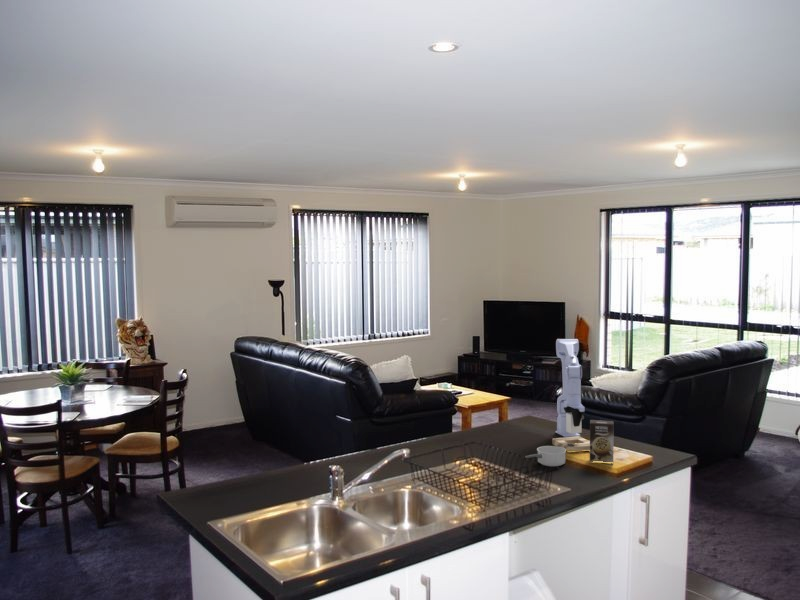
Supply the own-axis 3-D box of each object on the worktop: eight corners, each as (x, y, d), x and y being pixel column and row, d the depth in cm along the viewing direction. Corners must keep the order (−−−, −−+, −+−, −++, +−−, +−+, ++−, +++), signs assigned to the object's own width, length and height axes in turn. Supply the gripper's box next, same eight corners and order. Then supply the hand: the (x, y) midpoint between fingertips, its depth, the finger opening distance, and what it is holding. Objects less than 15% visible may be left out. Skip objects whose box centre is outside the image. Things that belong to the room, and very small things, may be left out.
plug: (566, 431, 289) (566, 412, 289) (581, 430, 291) (580, 411, 291) (570, 433, 285) (570, 414, 285) (585, 432, 287) (585, 413, 287)
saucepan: (515, 467, 263) (515, 452, 263) (550, 457, 275) (550, 444, 274) (537, 474, 254) (537, 459, 253) (572, 464, 265) (572, 450, 265)
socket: (552, 444, 294) (552, 437, 294) (579, 441, 297) (579, 434, 297) (569, 453, 280) (568, 446, 279) (597, 450, 283) (597, 443, 282)
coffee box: (589, 463, 265) (589, 422, 264) (589, 458, 271) (589, 419, 271) (613, 464, 263) (613, 424, 262) (613, 460, 269) (613, 420, 268)
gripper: (557, 391, 293) (557, 421, 294) (573, 397, 279) (574, 429, 280) (572, 390, 295) (572, 420, 296) (589, 396, 281) (589, 428, 282)
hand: (574, 425), depth 288 cm, fingers closed on plug, 4 cm apart
